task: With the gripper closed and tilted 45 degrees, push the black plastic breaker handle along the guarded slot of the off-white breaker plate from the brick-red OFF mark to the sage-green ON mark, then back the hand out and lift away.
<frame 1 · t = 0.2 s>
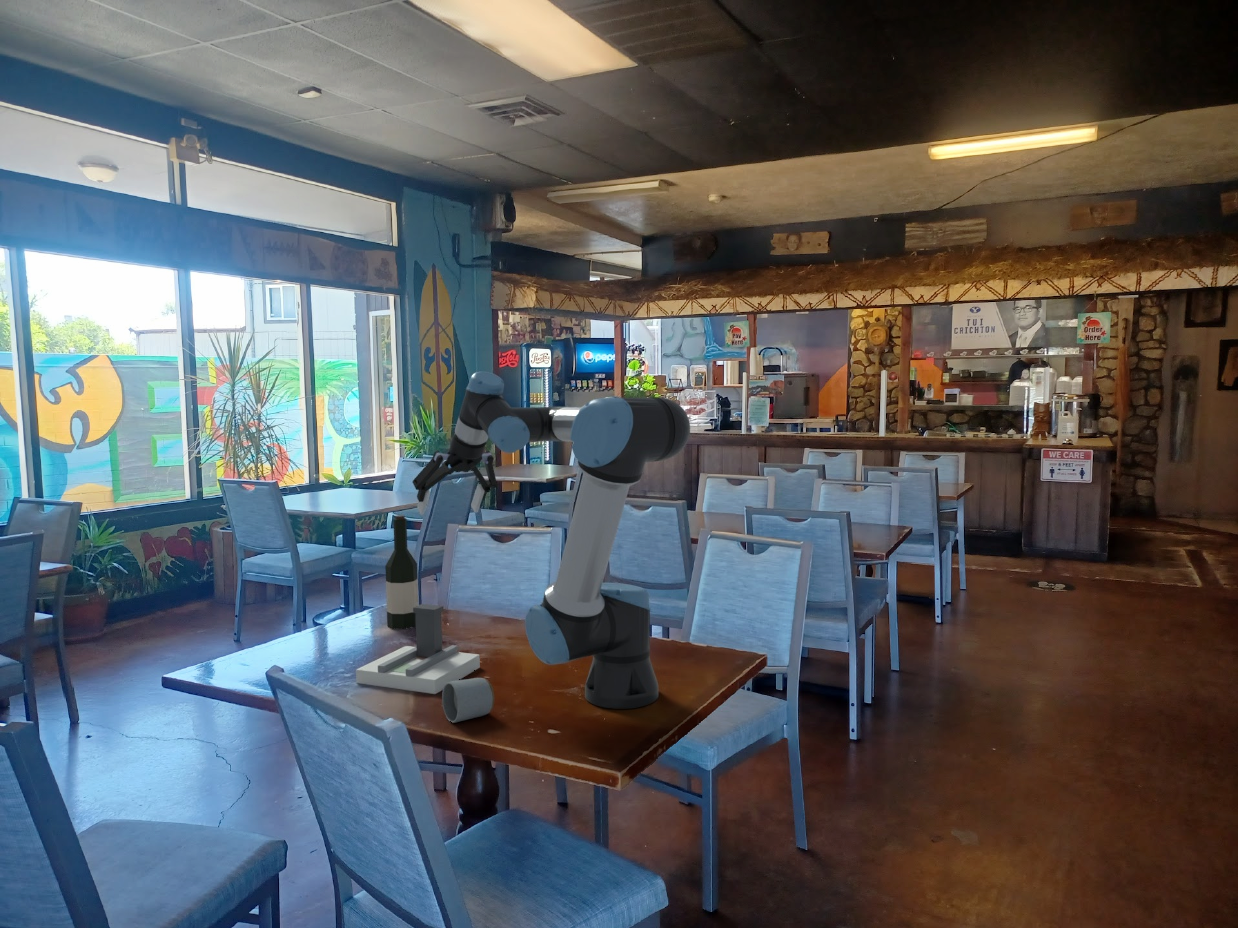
hand: (447, 510, 196), 35 cm above the table, tool tilted 35°, fingers open, 13 cm apart
ceramic mug: (464, 716, 161), on the table
breaker handle: (428, 630, 187), point 9 cm above the table, slide at 0.0 cm
wine bottle: (403, 625, 225), on the table
breaker plate: (419, 674, 184), on the table
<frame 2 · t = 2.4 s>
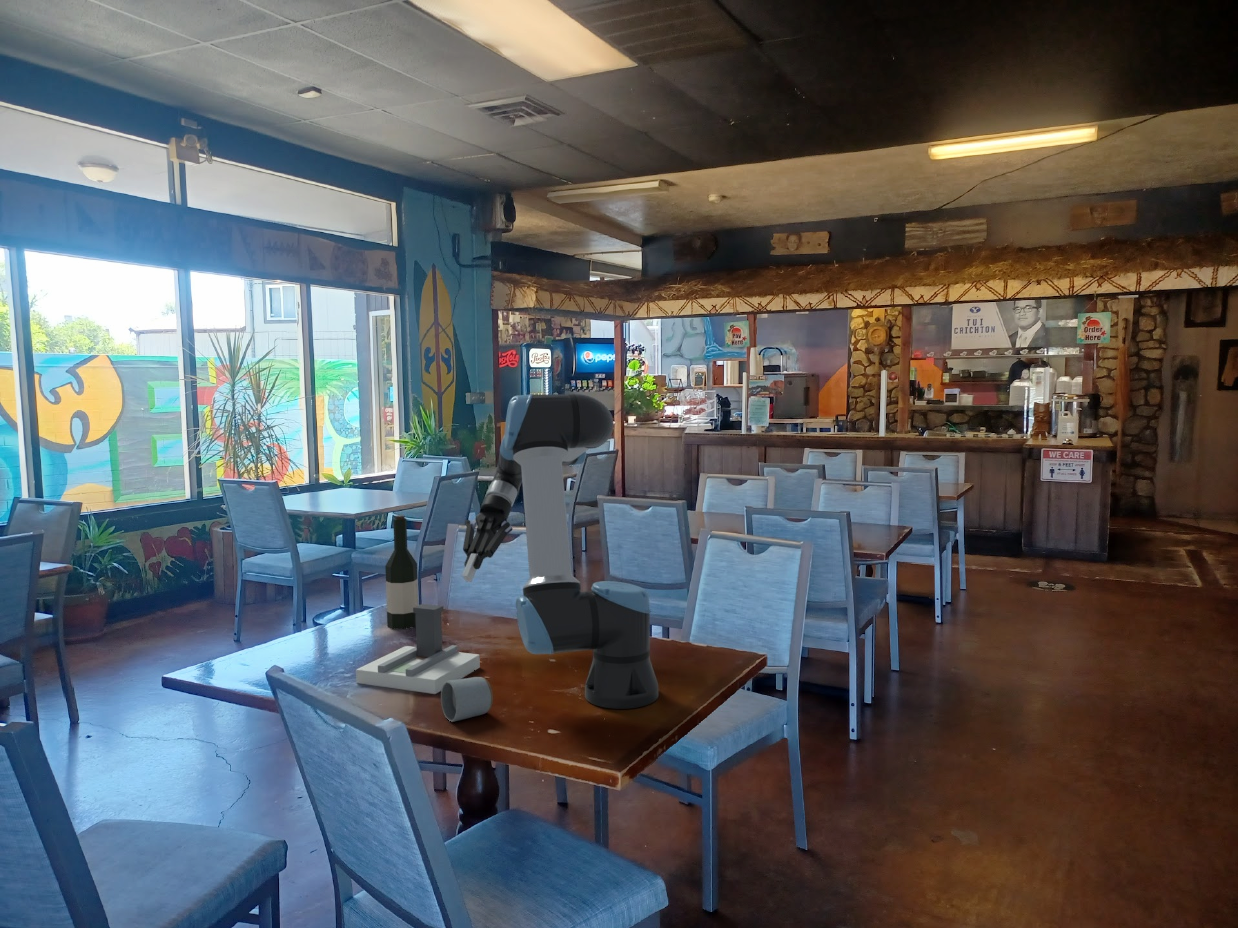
hand: (466, 578, 202), 17 cm above the table, tool tilted 45°, fingers closed
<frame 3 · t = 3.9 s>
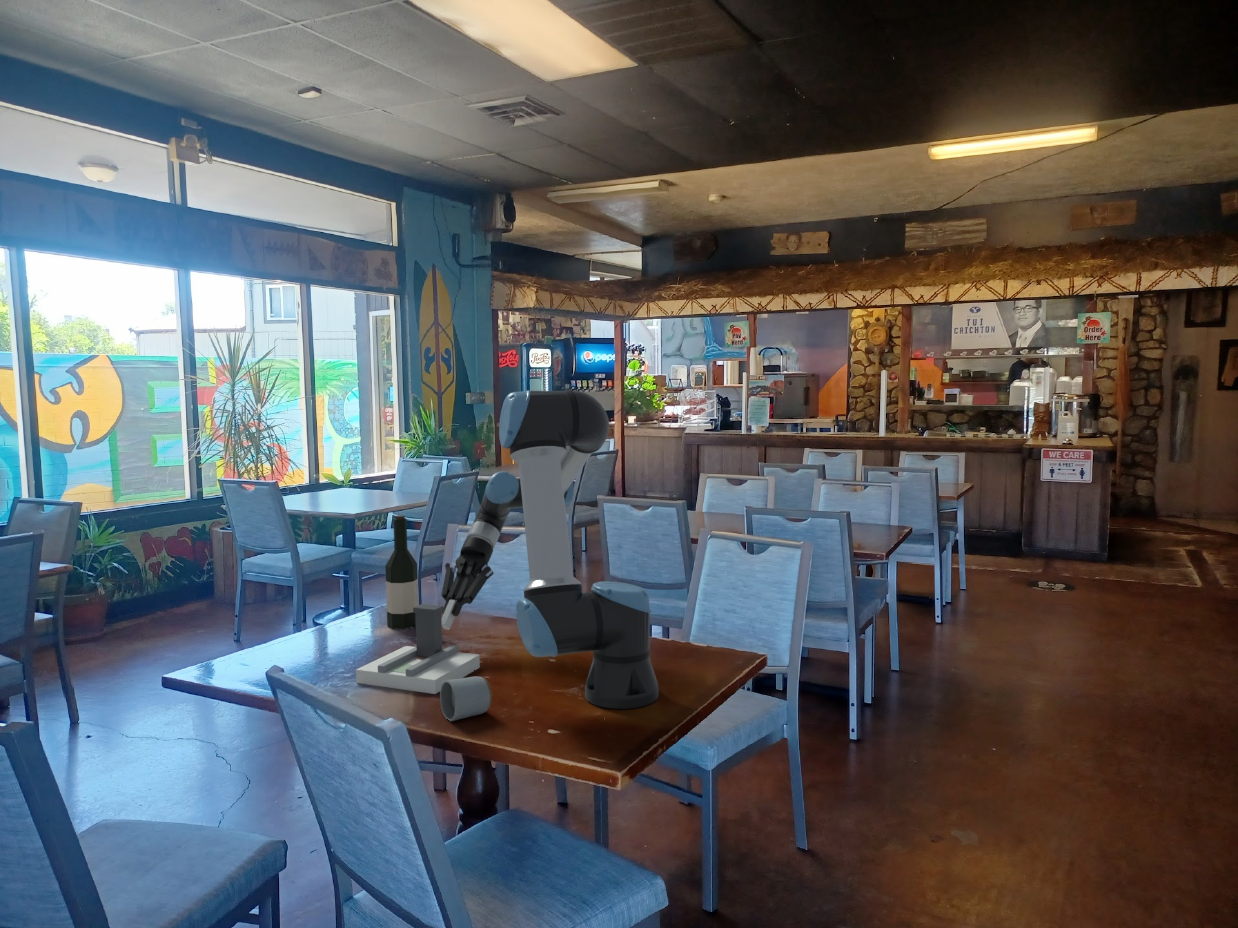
hand: (444, 626, 194), 8 cm above the table, tool tilted 45°, fingers closed
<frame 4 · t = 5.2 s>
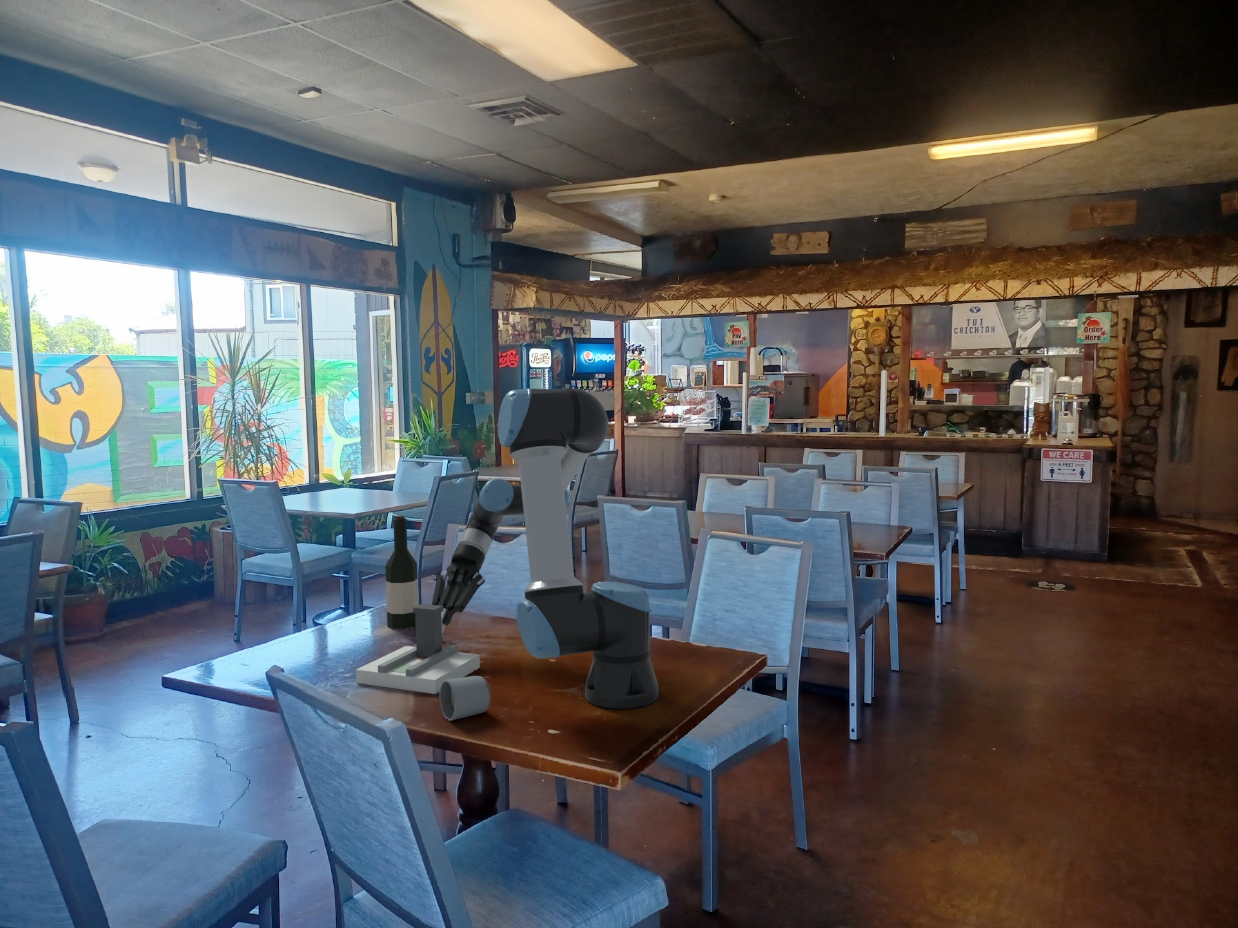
hand: (434, 635, 190), 7 cm above the table, tool tilted 45°, fingers closed
breaker handle: (428, 630, 187), point 9 cm above the table, slide at 0.0 cm, touching gripper
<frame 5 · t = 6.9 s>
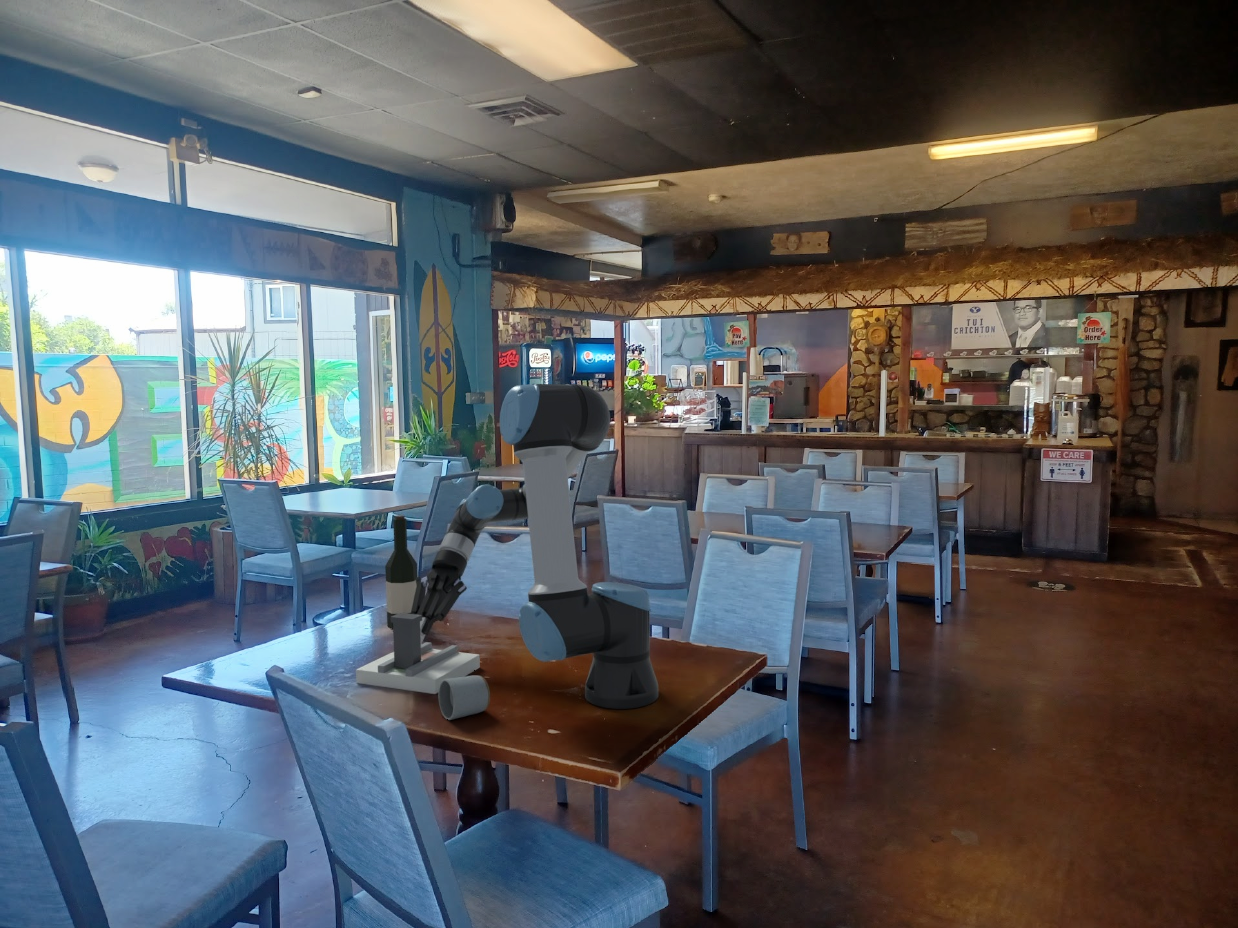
hand: (413, 646, 182), 7 cm above the table, tool tilted 45°, fingers closed
breaker handle: (407, 641, 180), point 9 cm above the table, slide at 8.3 cm, touching gripper
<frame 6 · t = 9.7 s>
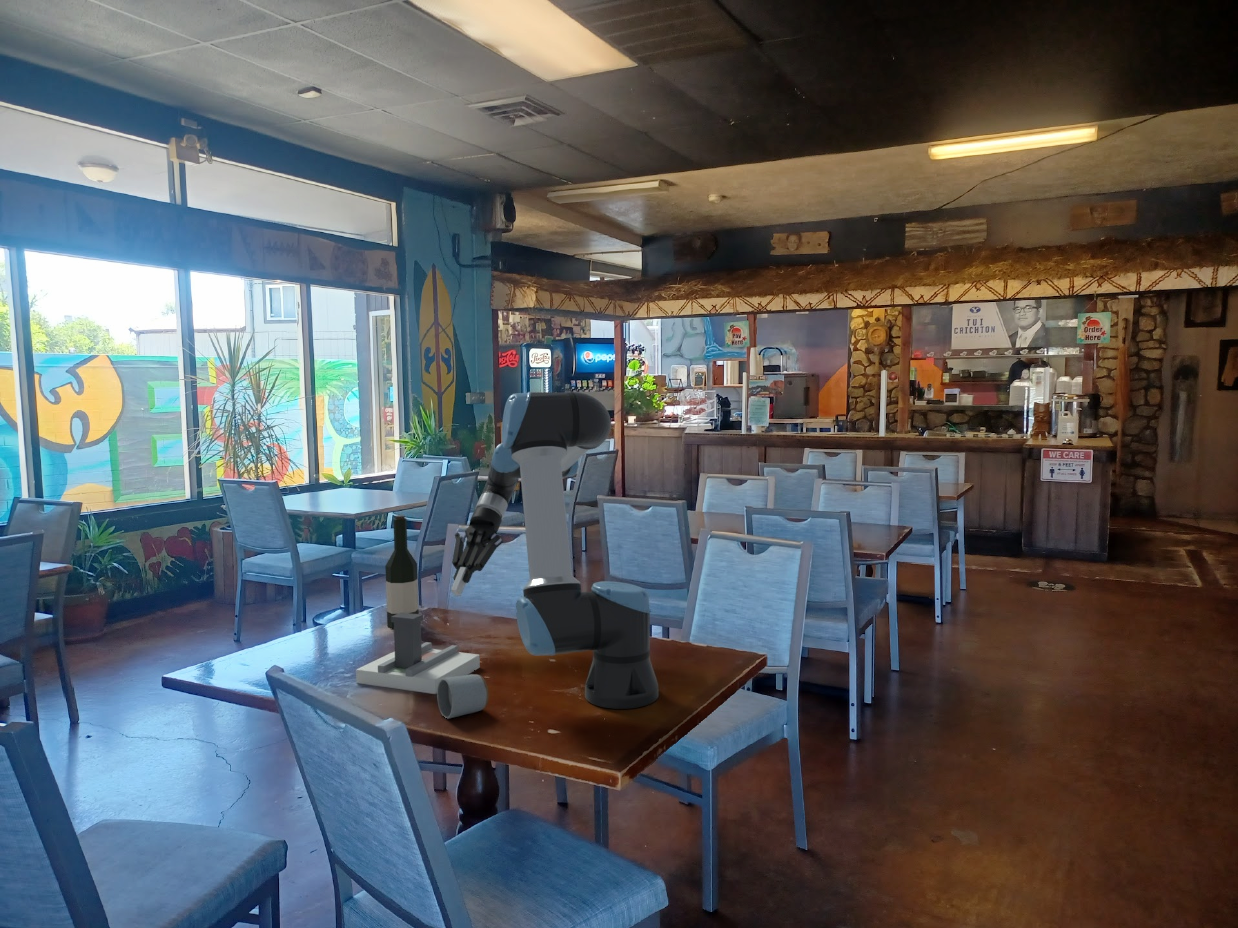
hand: (455, 592, 198), 15 cm above the table, tool tilted 45°, fingers closed
breaker handle: (407, 640, 180), point 9 cm above the table, slide at 8.0 cm
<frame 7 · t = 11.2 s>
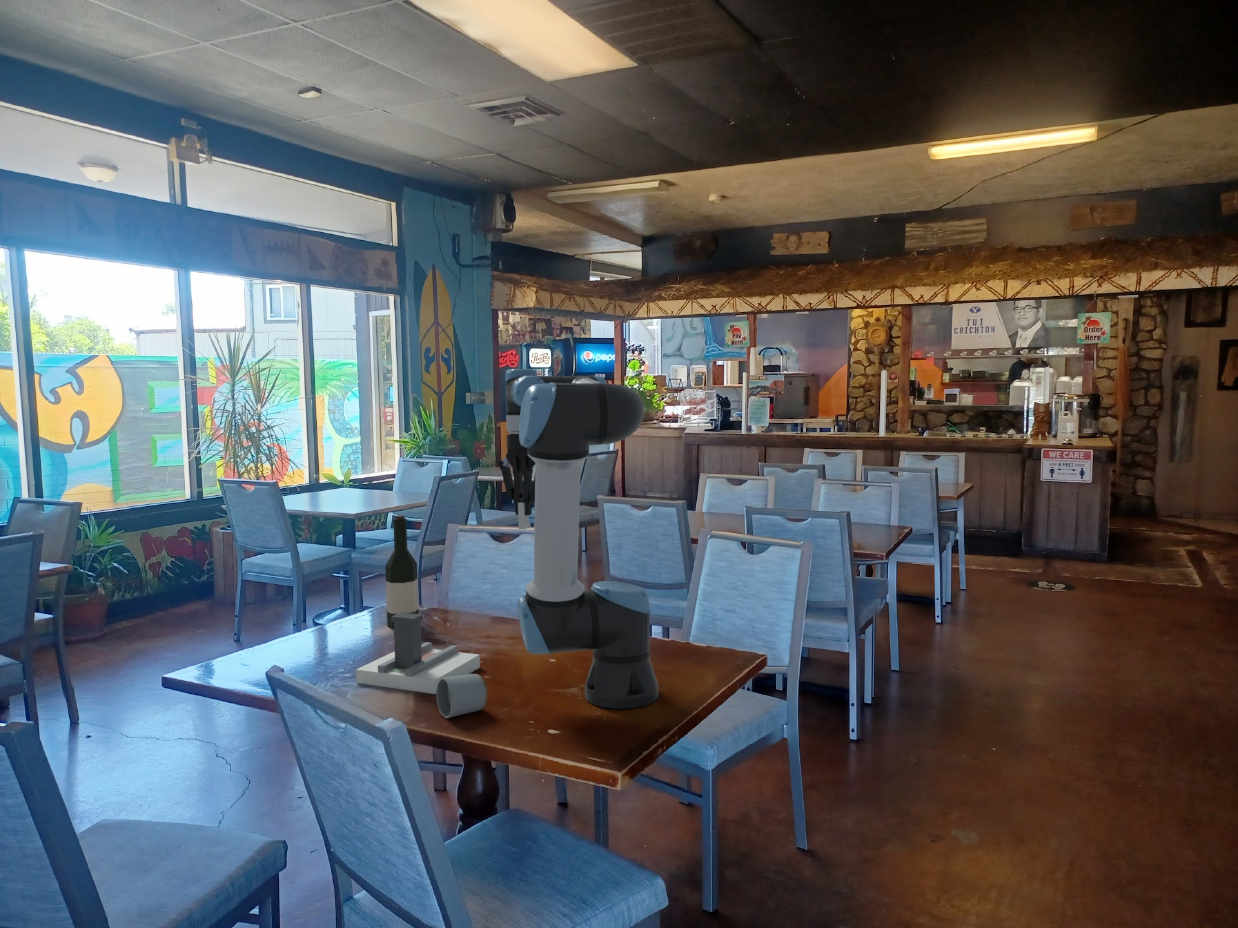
hand: (523, 528, 204), 29 cm above the table, tool pointing down, fingers closed
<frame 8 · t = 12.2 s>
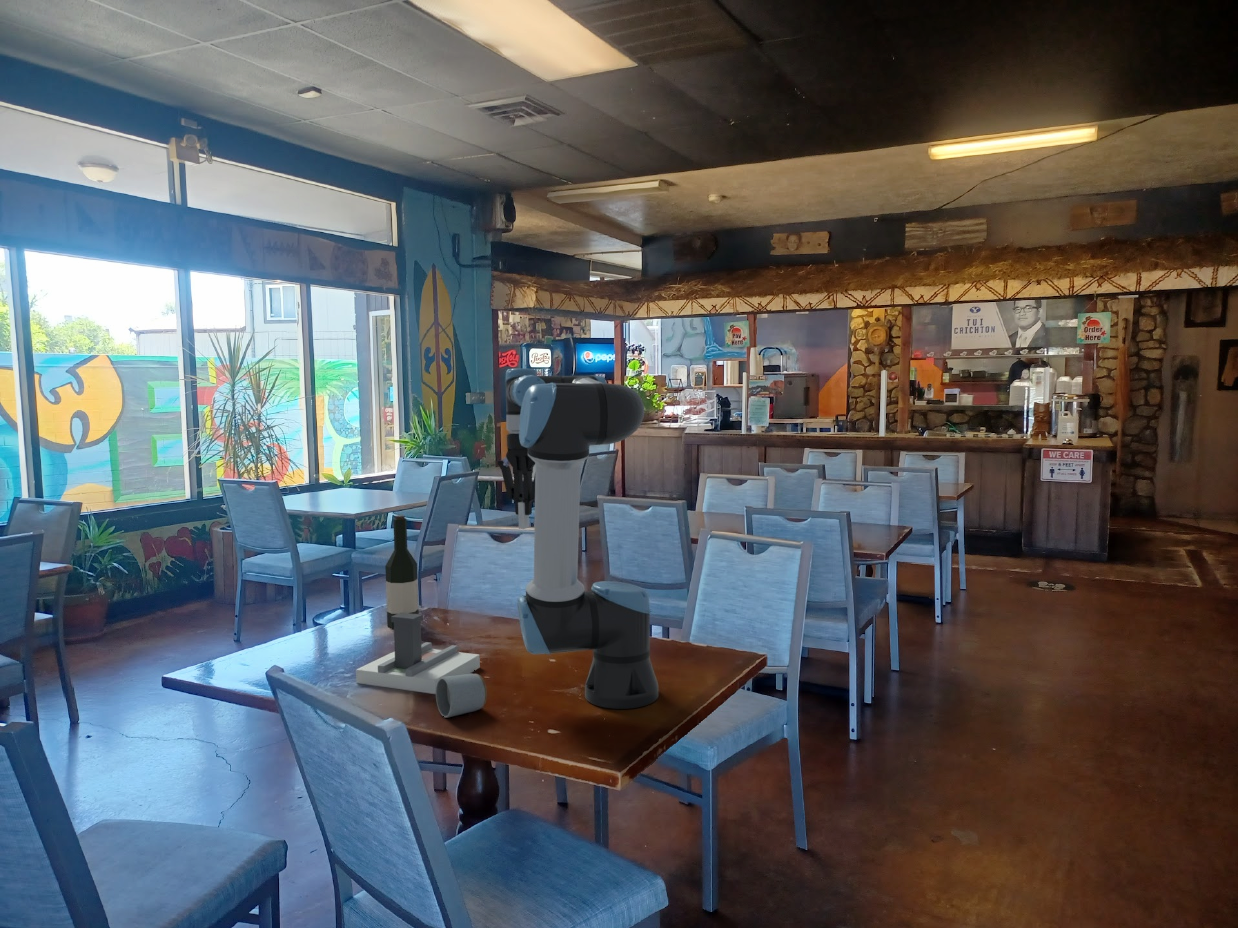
hand: (523, 527, 204), 29 cm above the table, tool pointing down, fingers closed
at the end: breaker handle slide at 8.0 cm; wine bottle moved 0.2 cm from its start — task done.
